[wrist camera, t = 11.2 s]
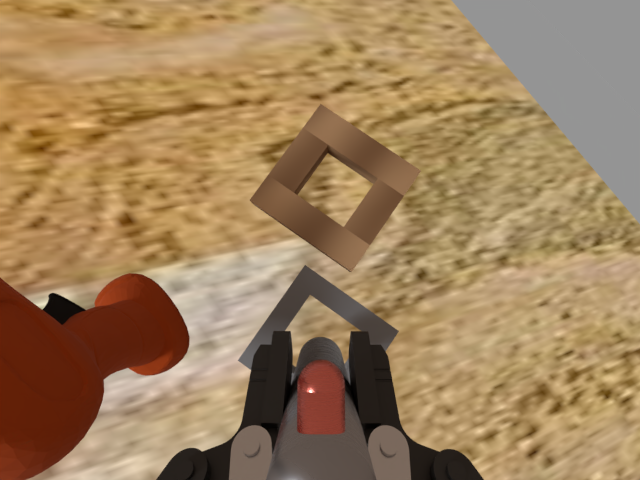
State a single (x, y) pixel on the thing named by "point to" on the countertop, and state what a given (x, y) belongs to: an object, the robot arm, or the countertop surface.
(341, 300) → the socket
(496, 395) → the countertop surface
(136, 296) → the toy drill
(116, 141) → the countertop surface
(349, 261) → the frame
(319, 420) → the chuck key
